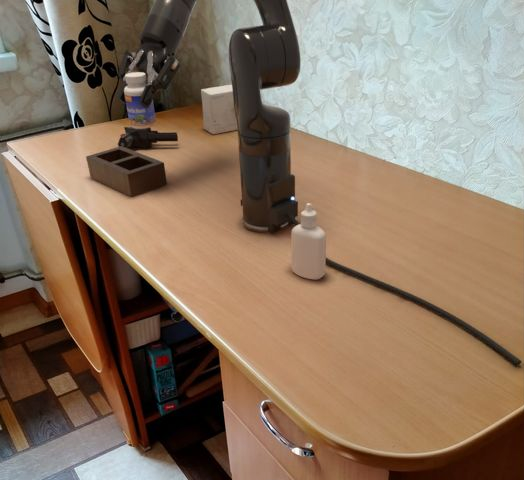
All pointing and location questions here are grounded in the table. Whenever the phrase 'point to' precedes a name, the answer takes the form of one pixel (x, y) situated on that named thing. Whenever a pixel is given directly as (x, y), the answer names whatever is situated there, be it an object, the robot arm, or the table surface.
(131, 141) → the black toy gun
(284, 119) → the robot arm
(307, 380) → the table surface
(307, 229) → the eye dropper bottle
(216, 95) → the cosmetics box
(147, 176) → the rack
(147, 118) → the pill bottle
